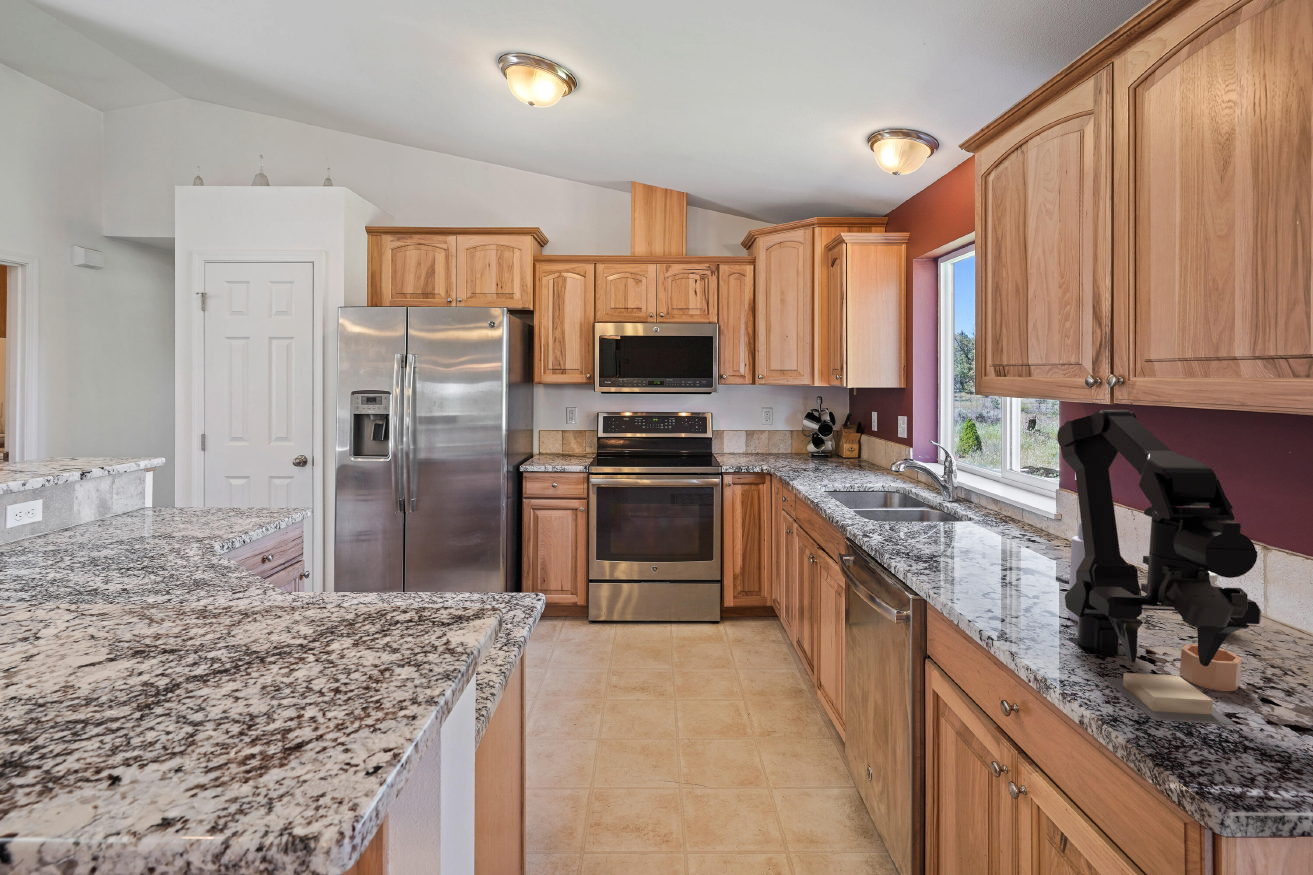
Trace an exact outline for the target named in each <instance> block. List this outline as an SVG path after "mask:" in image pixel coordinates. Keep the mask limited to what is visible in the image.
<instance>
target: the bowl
mask: <svg viewBox="0 0 1313 875" xmlns="http://www.w3.org/2000/svg"><path fill="white" fill-rule="evenodd" d="M1180 650H1181V651H1180V652H1181V653H1180V665H1179V674H1180V675H1181V678H1182V679H1183V680H1185V681H1186V682H1188V683H1190V684H1193V685H1196V686H1198V687H1201V688H1205V689H1209V690H1212V691H1213V690H1214V691H1220V692H1234V691H1237V690H1238V688H1239V686H1241V674H1242V663H1243V657H1240V656H1238V655H1237V654H1235V653H1234V652H1232V651H1230V650H1227V649H1223V648H1219V649H1218V651H1217V653H1216V654H1215V656H1214V657H1213V659H1212V661H1211V662H1210V664H1209V665H1208V666H1203V665H1201V664H1200V662H1199V655H1198V644H1193V643H1192V644H1191V643H1187V644H1185V645H1184V646H1183V647H1182V648H1181V649H1180Z"/></svg>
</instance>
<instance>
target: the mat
mask: <svg viewBox="0 0 1313 875" xmlns="http://www.w3.org/2000/svg"><path fill="white" fill-rule="evenodd" d="M1103 679H1104V680H1105V681H1106V682H1108V684H1110V685H1111V686H1113V688H1114V689H1116V690H1117V691H1118V692H1120V693H1121V694H1122V695H1123V696H1125V697H1126V699H1128V700H1129V701H1130V703H1132V704H1133V705H1135V706H1136V707H1137V708H1138V709H1139V710H1140V711H1142V712H1143V713H1144V714H1146V716H1148V717H1149V719H1151V720H1153V721H1164V722H1179V723H1180V722H1182V723H1193V724H1194V723H1196V724H1197V723H1198V724H1210V725H1211V724H1212V725H1213V724H1214V725H1215V724H1216V725H1228V726H1229V725H1231V726H1237V724H1236V723H1235V722H1233V721H1232V720H1231V719H1230V718H1228V717H1227V716H1225V715H1224V714H1223V713H1221V712H1220V711H1219V710H1217V709H1216V708H1214V707H1212V714H1196V713H1179V712H1162V711H1153V710H1151V709H1150V708H1149V707H1148V706H1147V705H1145V704H1144V703H1143V702H1142V701H1141V700H1139V699H1138V698H1137V697H1136V696H1135V695H1133V694H1132V693H1131V692H1130V691H1129V690H1127V689H1126V688H1125V687H1124V686H1123V678H1117V677H1116V678H1115V677H1103Z"/></svg>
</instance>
